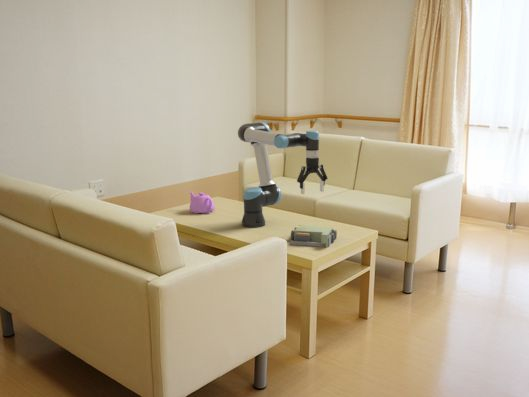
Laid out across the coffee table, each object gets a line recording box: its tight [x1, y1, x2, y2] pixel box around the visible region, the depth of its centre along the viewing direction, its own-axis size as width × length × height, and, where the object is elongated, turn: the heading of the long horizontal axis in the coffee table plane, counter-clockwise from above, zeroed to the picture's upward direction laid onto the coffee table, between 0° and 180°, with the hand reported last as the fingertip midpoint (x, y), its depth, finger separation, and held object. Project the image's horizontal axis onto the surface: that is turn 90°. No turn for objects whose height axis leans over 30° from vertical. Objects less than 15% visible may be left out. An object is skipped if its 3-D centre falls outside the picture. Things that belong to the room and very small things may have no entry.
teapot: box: [189, 190, 216, 214], centre depth 396 cm, size 25×18×14 cm
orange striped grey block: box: [295, 233, 311, 242], centre depth 314 cm, size 8×5×5 cm, turn 72°
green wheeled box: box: [290, 225, 338, 248], centre depth 318 cm, size 24×20×7 cm
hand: (312, 192), depth 332 cm, fingers open, 13 cm apart
